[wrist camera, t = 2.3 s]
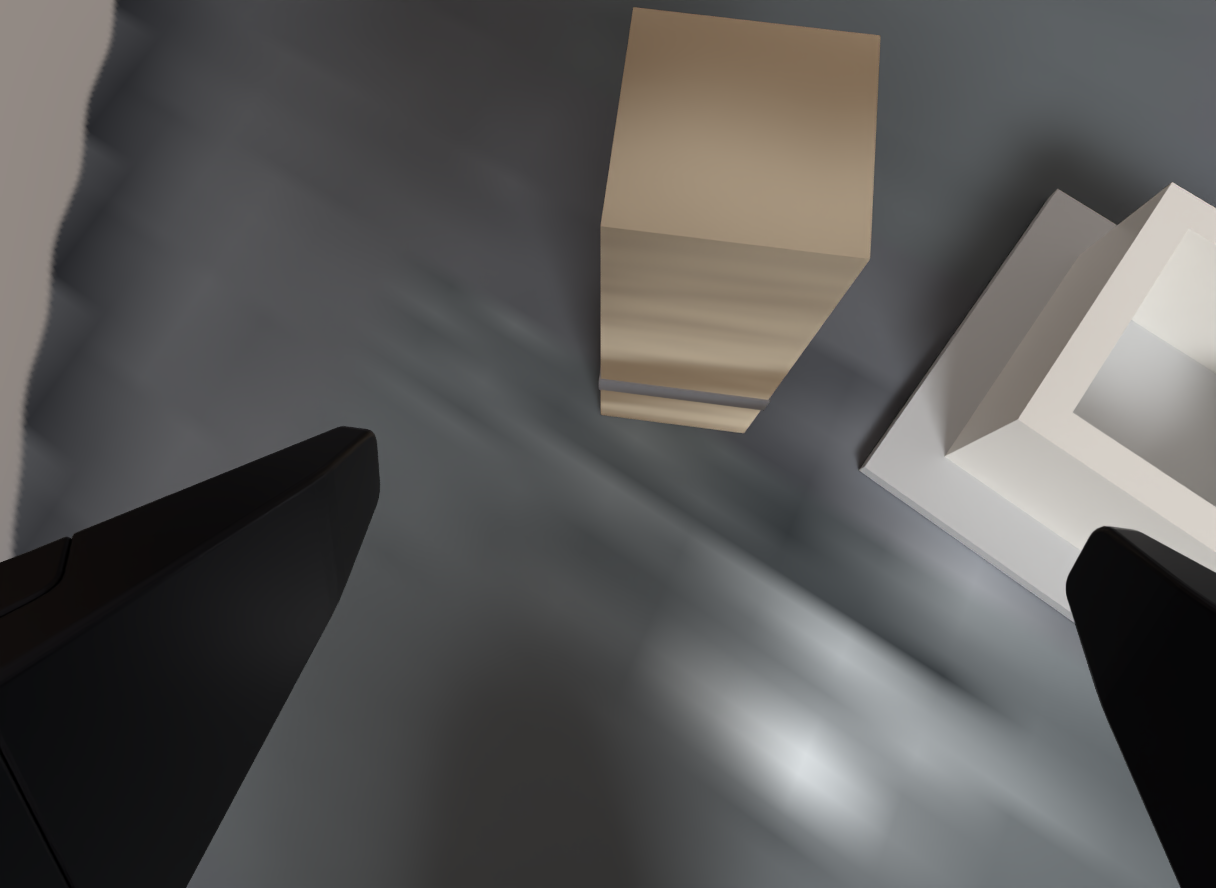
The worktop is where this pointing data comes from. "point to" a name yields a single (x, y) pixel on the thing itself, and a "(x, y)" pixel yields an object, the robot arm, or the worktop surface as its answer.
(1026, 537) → the well
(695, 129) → the wooden post
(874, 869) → the worktop surface
